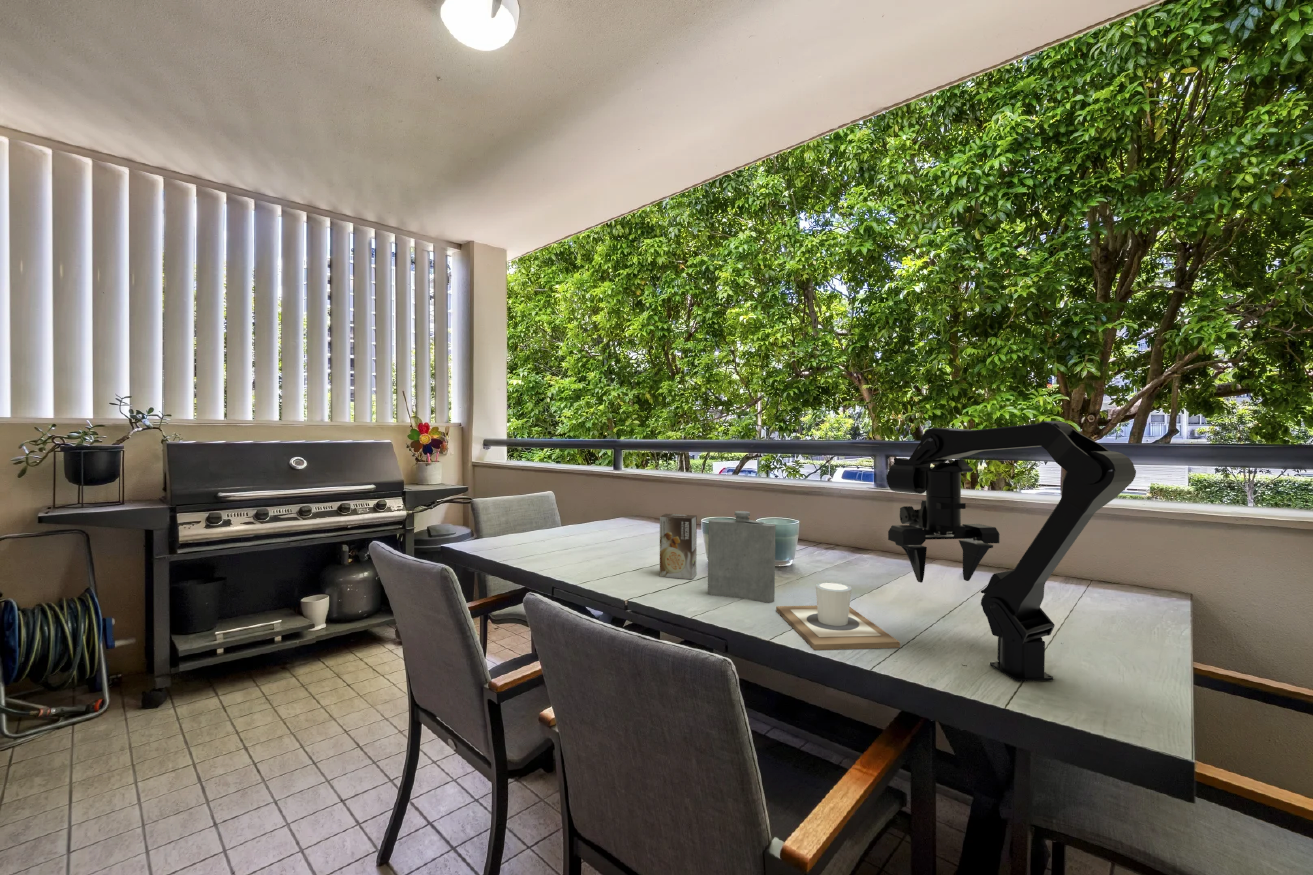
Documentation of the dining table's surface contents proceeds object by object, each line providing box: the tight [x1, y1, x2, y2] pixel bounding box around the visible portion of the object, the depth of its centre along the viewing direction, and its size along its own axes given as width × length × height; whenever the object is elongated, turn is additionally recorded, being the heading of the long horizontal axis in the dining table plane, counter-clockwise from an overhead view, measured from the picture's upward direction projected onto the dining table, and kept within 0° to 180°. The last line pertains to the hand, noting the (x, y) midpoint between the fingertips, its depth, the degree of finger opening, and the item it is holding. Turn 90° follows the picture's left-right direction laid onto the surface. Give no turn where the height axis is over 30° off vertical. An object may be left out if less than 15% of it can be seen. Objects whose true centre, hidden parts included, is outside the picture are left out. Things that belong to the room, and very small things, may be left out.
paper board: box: [775, 604, 901, 651], centre depth 114 cm, size 22×16×1 cm
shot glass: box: [815, 581, 852, 626], centre depth 113 cm, size 7×7×7 cm
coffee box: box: [659, 513, 698, 580], centre depth 153 cm, size 9×6×16 cm
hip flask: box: [707, 510, 777, 604], centre depth 134 cm, size 16×4×20 cm, turn 66°
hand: (943, 581), depth 105 cm, fingers open, 9 cm apart
